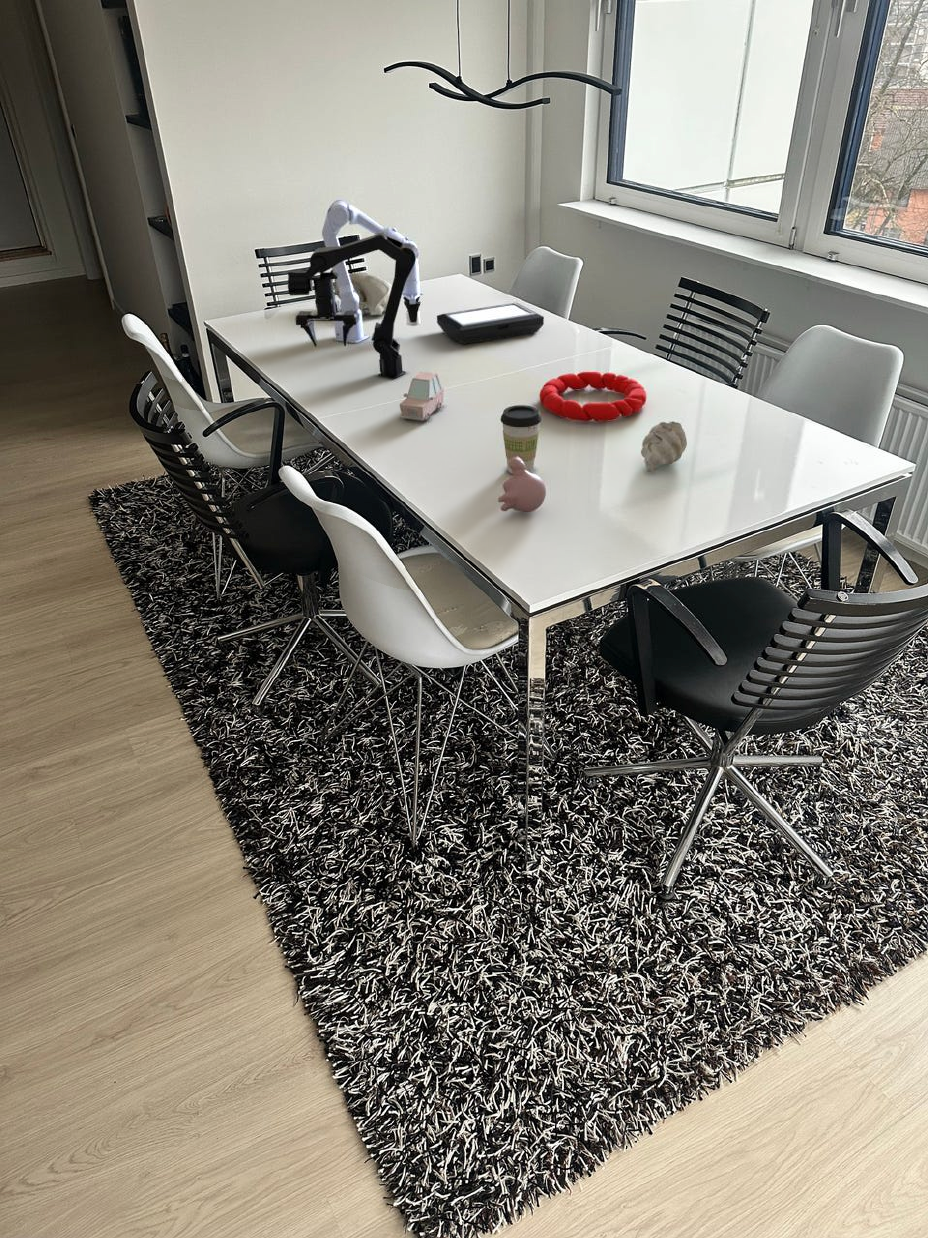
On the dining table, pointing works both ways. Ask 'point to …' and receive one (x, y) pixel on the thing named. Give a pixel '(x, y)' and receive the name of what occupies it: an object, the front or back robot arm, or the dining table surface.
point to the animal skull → (369, 292)
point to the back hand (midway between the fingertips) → (413, 319)
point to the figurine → (522, 489)
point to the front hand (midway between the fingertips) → (330, 346)
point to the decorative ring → (593, 410)
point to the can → (413, 322)
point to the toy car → (422, 397)
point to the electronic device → (490, 322)
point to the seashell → (663, 445)
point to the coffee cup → (521, 433)
